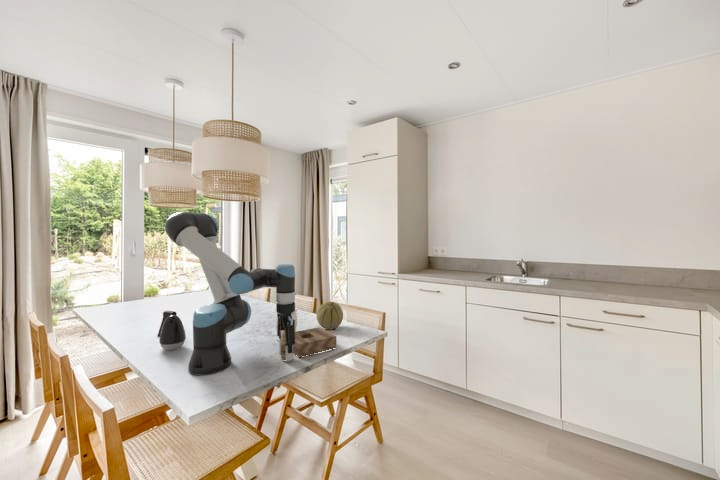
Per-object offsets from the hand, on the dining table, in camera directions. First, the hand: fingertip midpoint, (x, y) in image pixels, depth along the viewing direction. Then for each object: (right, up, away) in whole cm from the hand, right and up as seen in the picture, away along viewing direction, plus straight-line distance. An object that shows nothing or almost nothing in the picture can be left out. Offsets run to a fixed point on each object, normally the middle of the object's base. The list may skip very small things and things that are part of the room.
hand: (285, 357), depth 128 cm
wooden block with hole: (+8, -1, +13) cm, 15 cm away
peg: (0, -1, 0) cm, 1 cm away
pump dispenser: (-54, -1, +12) cm, 55 cm away
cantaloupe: (+14, 0, +41) cm, 44 cm away
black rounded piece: (-67, 0, +31) cm, 74 cm away
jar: (-6, -1, +24) cm, 25 cm away
